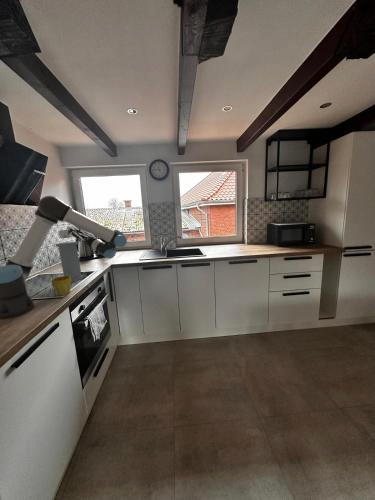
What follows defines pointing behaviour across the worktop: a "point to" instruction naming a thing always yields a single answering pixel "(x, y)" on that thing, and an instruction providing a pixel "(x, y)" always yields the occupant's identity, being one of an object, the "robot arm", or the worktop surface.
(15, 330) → the worktop surface
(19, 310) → the robot arm
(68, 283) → the plant pot
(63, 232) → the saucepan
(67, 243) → the stand
